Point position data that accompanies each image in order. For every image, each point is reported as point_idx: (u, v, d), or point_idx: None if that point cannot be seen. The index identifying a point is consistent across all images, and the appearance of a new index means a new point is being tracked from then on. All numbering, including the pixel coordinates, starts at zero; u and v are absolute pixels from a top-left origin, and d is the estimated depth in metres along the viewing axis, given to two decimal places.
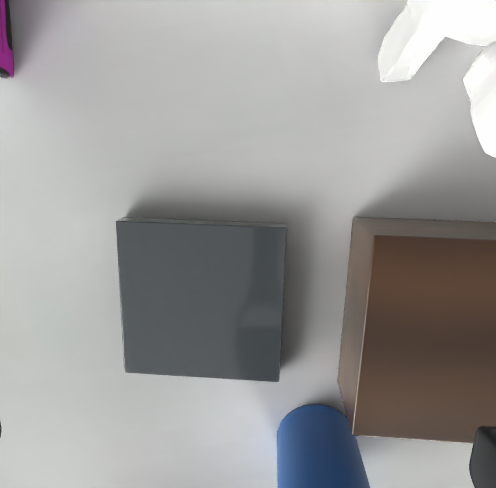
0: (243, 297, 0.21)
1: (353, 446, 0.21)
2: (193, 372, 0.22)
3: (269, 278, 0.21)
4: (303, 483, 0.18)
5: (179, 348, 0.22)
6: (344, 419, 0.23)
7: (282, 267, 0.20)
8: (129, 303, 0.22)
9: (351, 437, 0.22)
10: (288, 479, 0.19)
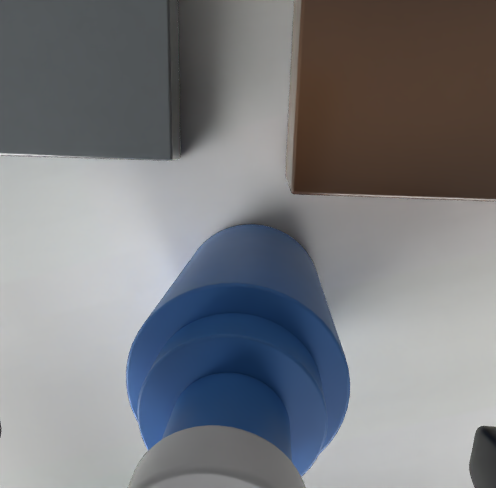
0: None
1: (307, 268, 0.11)
2: (16, 145, 0.12)
3: None
4: (180, 289, 0.08)
5: None
6: (296, 244, 0.13)
7: None
8: None
9: (306, 261, 0.12)
10: None
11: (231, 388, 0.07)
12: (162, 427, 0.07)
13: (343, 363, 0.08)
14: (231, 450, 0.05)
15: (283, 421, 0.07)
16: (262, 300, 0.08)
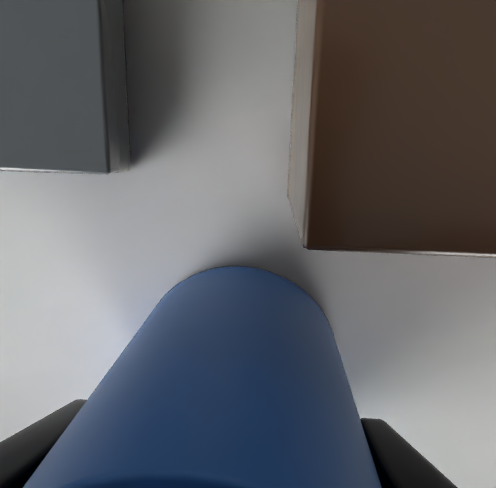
0: None
1: (324, 351, 0.07)
2: None
3: None
4: (68, 458, 0.04)
5: None
6: (305, 298, 0.09)
7: None
8: None
9: (321, 333, 0.07)
10: None
11: None
12: None
13: None
14: None
15: None
16: None
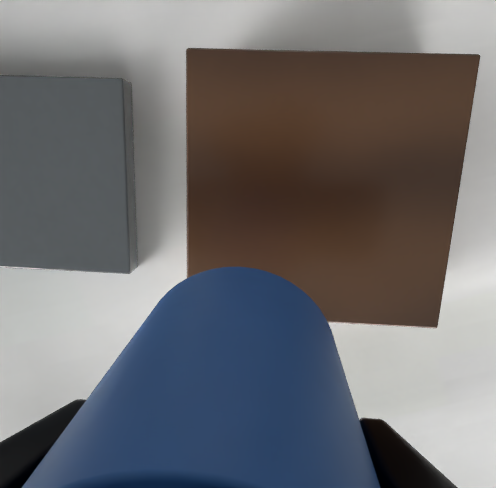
0: (80, 167, 0.18)
1: (323, 351, 0.07)
2: (32, 263, 0.19)
3: (107, 143, 0.18)
4: (66, 459, 0.04)
5: (13, 233, 0.19)
6: (304, 299, 0.09)
7: (121, 129, 0.18)
8: None
9: (320, 333, 0.07)
10: None
11: None
12: None
13: None
14: None
15: None
16: None
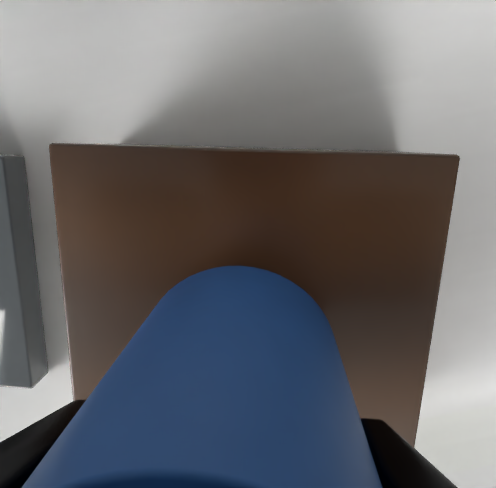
0: None
1: (325, 350, 0.07)
2: None
3: None
4: (67, 458, 0.04)
5: None
6: (305, 298, 0.09)
7: (7, 219, 0.14)
8: None
9: (321, 332, 0.07)
10: (53, 444, 0.05)
11: None
12: None
13: None
14: None
15: None
16: None
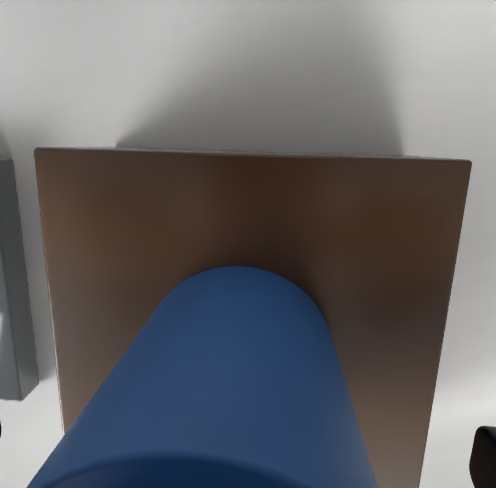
0: None
1: (321, 347, 0.07)
2: None
3: None
4: (81, 442, 0.04)
5: None
6: (303, 297, 0.09)
7: None
8: None
9: (318, 330, 0.08)
10: (66, 433, 0.05)
11: None
12: None
13: None
14: None
15: None
16: (239, 486, 0.04)
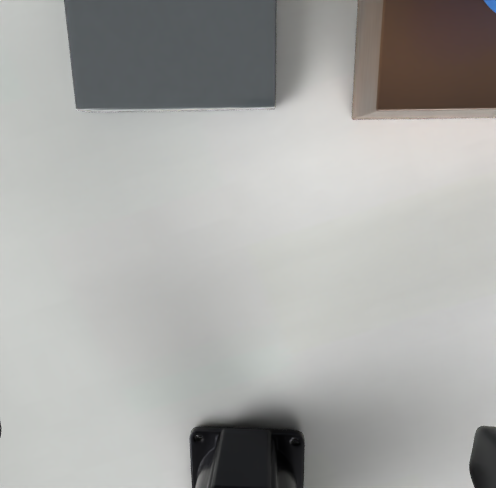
0: None
1: None
2: (164, 101, 0.17)
3: None
4: None
5: (144, 65, 0.17)
6: None
7: None
8: (75, 1, 0.16)
9: None
10: None
11: None
12: None
13: None
14: None
15: None
16: None
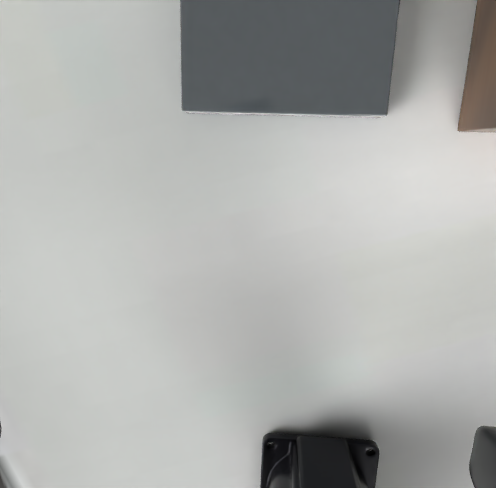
0: None
1: None
2: (273, 105, 0.17)
3: None
4: None
5: (257, 68, 0.17)
6: None
7: None
8: (192, 0, 0.16)
9: None
10: None
11: None
12: None
13: None
14: None
15: None
16: None
